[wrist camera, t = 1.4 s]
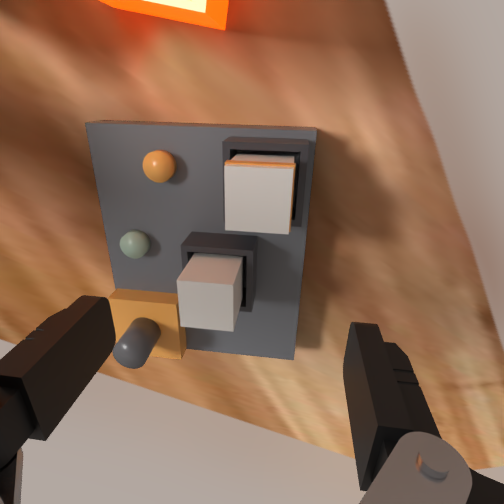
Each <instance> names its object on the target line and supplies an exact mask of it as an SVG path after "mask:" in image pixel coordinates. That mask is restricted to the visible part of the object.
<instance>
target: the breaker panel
mask: <svg viewBox="0 0 504 504" xmlns="http://www.w3.org/2000/svg"><path fill="white" fill-rule="evenodd" d="M85 126H86V131H87V137H88V142H89V147H90V153H91V158H92V164H93V169H94V175H95V180H96V185H97V191H98V196H99V202H100V207H101V212H102V218H103V223H104V229H105V234H106V240H107V245H108V250H109V256H110V261H111V267H112V272H113V278H114V283H115V288H116V289H117V288H120V289H131V290H143V291H154V292H165V293H176V294H178V291H177V279H178V277H179V276H180V274H181V273H182V271H183V270H184V268H185V267H186V265H187V264H188V262H189V261H190V259H191V258H192V256H193V255H194V253H206V254H219V255H232V256H243V298H242V302H241V306H240V309H239V313H238V316H237V320H236V324H235V327H234V331H233V332H231V331H221V330H211V329H201V328H191V327H185V332H186V344H187V348H186V349H194V350H203V351H213V352H222V353H231V354H241V355H250V356H259V357H269V358H278V359H287V360H294V353H295V343H296V333H297V323H298V313H299V303H300V293H301V284H302V274H303V264H304V254H305V244H306V234H307V224H308V214H309V204H310V194H311V184H312V174H313V165H314V155H315V145H316V135H317V130H316V128H315V127H291V126H262V125H232V124H202V123H172V122H143V121H113V120H103V121H95V122H87V123H85ZM236 154H254V155H277V156H294V163H296V166H295V179H294V191H293V204H292V217H291V230H290V232H289V234H274V233H260V232H245V231H230V230H225V184H224V166H225V161H227V160H231V159H232V158H233V157H234V156H235V155H236Z"/></svg>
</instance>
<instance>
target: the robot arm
mask: <svg viewBox="0 0 504 504" xmlns="http://www.w3.org/2000/svg"><path fill="white" fill-rule="evenodd" d="M115 341H116V333H115V327H114V322H113V317H112V312H111V307H110V303H109V300H108V299H107V298H105V297H96V296H86V295H83V296H81V297H79V298H78V299H77V300H76V301H75V302H74V303H73V304H71V305H70V306H69V307H68V308H67V309H63V310H62V311H60V312H58V313H56V314H54V315H52V316H50V317H48V318H47V319H46V320H45V321H44V322H43V323H42V324H40V325H39V326H38V327H37V328H36V331H32V332H31V333H30V334H29V335H28V336H27V337H26V339H25V340H22V341H21V342H20V343H19V344H18V345H16V346H15V347H14V348H13V349H12V350H11V351H10V352H8V353H7V354H6V355H5V356H4V357H3V358H2V359H0V504H20V502H21V484H22V468H23V451H22V448H21V446H22V445H23V444H24V443H25V441H26V440H27V439H28V438H30V439H36V440H43V441H46V440H47V438H48V437H49V436H50V434H51V433H52V432H53V430H54V429H55V428H56V426H57V425H58V424H59V422H60V421H61V419H62V418H63V417H64V415H65V414H66V413H67V411H68V410H69V409H70V407H71V406H72V405H73V403H74V402H75V401H76V399H77V398H78V397H79V395H80V394H81V392H82V391H83V390H84V389H85V387H86V386H87V384H88V383H89V382H90V380H91V379H92V378H93V376H94V375H95V374H96V372H97V371H98V370H99V368H100V367H101V366H102V364H103V363H104V362H105V360H106V359H107V358H108V356H109V355H110V353H111V352H112V350H113V348H114V345H115ZM343 379H344V386H345V393H346V400H347V406H348V413H349V419H350V426H351V433H352V439H353V446H354V453H355V459H356V466H357V472H358V479H359V486H360V490H362V491H367V492H366V494H365V495H364V497H363V498H362V500H361V501H360V503H359V504H504V484H502V483H500V482H497V481H495V480H493V479H490V478H488V477H486V476H483V475H481V474H479V473H477V472H476V471H474V470H472V469H471V468H469V467H468V465H467V463H466V462H465V460H464V459H463V457H462V456H461V455H460V454H459V453H458V452H457V451H456V449H454V448H453V447H452V446H451V445H450V444H448V443H447V442H446V441H444V440H442V438H441V436H440V434H439V431H438V429H437V426H436V424H435V422H434V419H433V417H432V414H431V412H430V409H429V407H428V405H427V402H426V400H425V397H424V395H423V392H422V390H421V388H420V386H419V383H418V380H417V378H416V375H415V374H414V371H413V368H412V366H411V363H410V361H409V358H408V356H407V355H406V354H405V353H404V352H403V351H402V350H401V349H400V348H399V347H398V346H397V344H396V343H390V342H384V341H383V338H382V335H381V332H380V329H379V327H378V325H377V324H369V323H359V322H352V323H351V325H350V329H349V335H348V340H347V345H346V351H345V356H344V363H343Z"/></svg>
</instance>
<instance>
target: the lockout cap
mask: <svg viewBox="0 0 504 504" xmlns="http://www.w3.org/2000/svg"><path fill="white" fill-rule="evenodd" d="M108 300H109V303H110V307H111V312H112V317H113V322H114V327H115V333H116V342H117V343H116V345H115V346H114V348H113V356H114V358H115V359H116V361H117V362H118V363H120V364H121V365H123V366H125V367H127V368H132V369H136V368H140V367H142V366H143V365H144V364H145V362H146V360H147V358H148V357H149V356H153V357H163V358H172V359H182V357H183V355H184V352H185V350H186V348H187V344H186V332H185V327H181V325H180V314H179V302H178V294H176V293H165V292H154V291H143V290H131V289H120V288H117V289H116V290H115V291H114V292H113V293H112V295H111V296H110V297H109V298H108Z"/></svg>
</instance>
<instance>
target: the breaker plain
mask: <svg viewBox="0 0 504 504" xmlns="http://www.w3.org/2000/svg"><path fill="white" fill-rule="evenodd" d="M177 291H178V302H179V314H180V325H181V327H191V328H201V329H211V330H221V331H231V332H233V331H234V327H235V324H236V320H237V316H238V313H239V309H240V306H241V302H242V298H243V256H232V255H219V254H206V253H194V255H193V256H192V258H191V259H190V261H189V262H188V264H187V265H186V267H185V268H184V270H183V271H182V273H181V274H180V276H179V277H178V279H177Z"/></svg>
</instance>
